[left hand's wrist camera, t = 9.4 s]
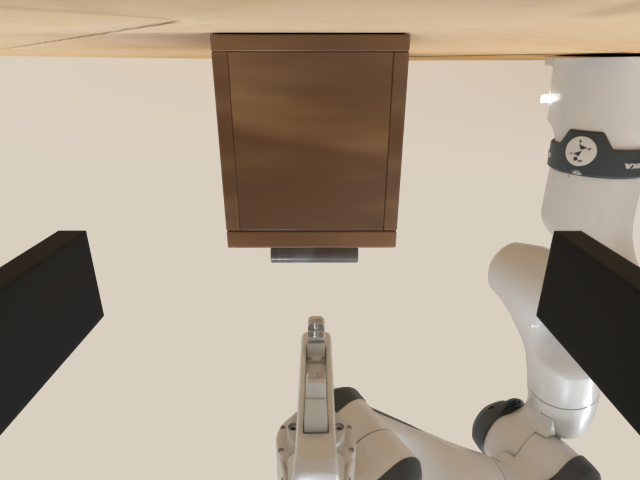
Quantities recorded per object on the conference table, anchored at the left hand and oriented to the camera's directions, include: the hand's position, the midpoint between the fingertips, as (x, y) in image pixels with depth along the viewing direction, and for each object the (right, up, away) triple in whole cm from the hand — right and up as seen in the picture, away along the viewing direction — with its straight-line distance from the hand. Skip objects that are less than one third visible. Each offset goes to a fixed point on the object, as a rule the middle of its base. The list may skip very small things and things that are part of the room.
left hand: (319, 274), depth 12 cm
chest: (0, +13, +15) cm, 20 cm away
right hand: (0, -10, +31) cm, 32 cm away
